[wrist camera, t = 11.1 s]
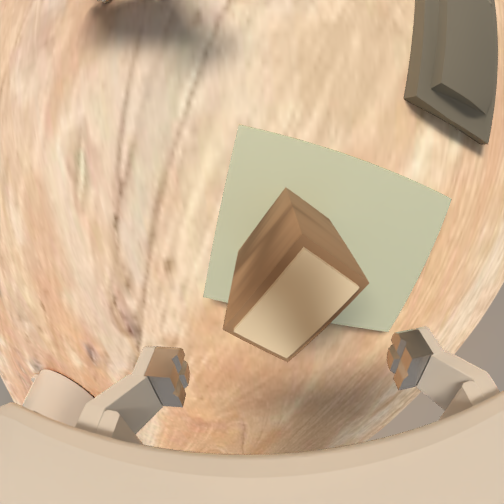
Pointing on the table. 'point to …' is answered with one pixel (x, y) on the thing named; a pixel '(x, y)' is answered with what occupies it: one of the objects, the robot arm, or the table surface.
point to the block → (290, 279)
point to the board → (331, 217)
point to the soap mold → (455, 63)
